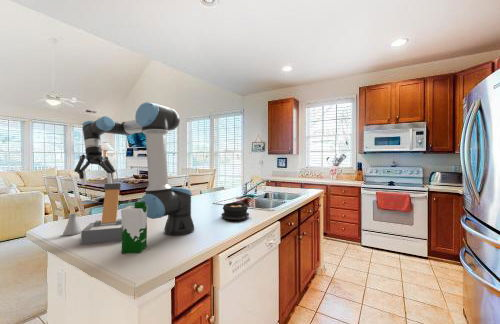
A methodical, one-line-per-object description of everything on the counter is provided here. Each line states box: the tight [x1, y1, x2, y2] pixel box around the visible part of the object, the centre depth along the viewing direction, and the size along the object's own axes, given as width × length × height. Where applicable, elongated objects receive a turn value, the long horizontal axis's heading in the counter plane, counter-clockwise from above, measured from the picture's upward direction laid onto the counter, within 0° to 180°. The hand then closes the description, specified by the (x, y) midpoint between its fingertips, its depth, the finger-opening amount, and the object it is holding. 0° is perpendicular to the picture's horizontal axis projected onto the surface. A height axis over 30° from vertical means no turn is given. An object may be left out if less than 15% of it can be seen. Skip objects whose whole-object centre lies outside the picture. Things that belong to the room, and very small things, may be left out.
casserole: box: [220, 202, 250, 221], centre depth 150 cm, size 25×19×8 cm
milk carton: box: [120, 200, 148, 255], centre depth 94 cm, size 9×9×20 cm
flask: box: [62, 212, 82, 236], centre depth 115 cm, size 7×7×10 cm
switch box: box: [80, 218, 122, 246], centre depth 110 cm, size 14×18×8 cm
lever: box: [101, 183, 122, 224], centre depth 114 cm, size 3×7×20 cm, turn 111°
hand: (98, 184), depth 123 cm, fingers open, 13 cm apart
